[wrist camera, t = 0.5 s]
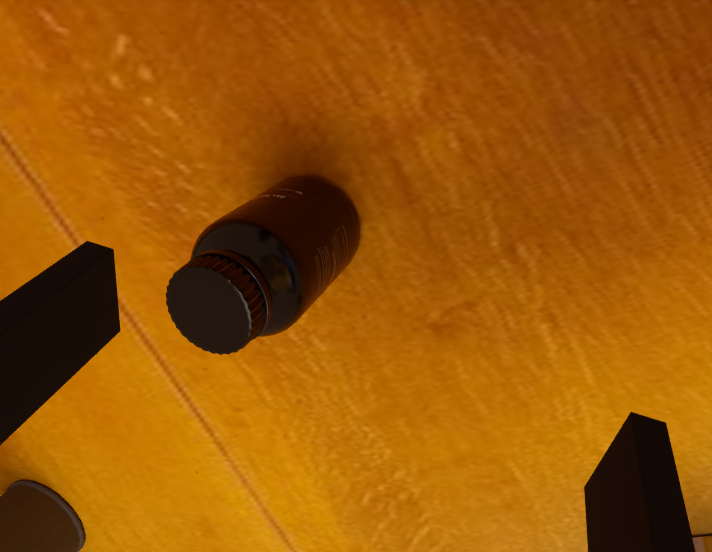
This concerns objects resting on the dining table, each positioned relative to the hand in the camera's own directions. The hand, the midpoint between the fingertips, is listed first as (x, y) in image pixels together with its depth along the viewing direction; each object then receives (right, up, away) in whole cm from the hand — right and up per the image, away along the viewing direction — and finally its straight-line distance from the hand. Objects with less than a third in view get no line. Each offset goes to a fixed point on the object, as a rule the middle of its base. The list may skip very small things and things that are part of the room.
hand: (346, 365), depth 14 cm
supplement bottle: (-3, +6, +23) cm, 24 cm away
